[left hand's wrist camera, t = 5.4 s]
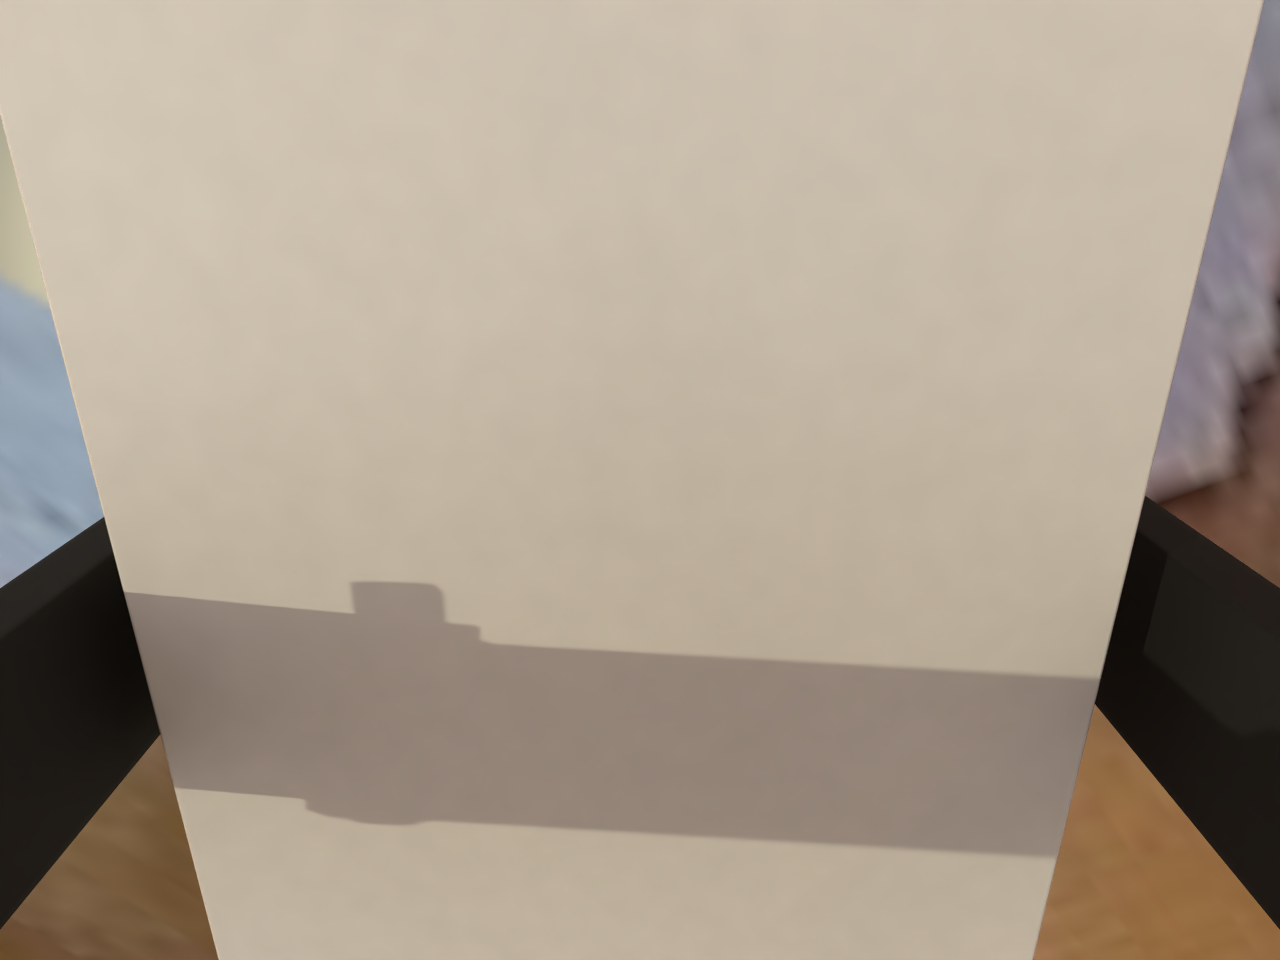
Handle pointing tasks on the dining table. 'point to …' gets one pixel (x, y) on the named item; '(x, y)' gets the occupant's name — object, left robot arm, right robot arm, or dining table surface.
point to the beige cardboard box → (622, 444)
